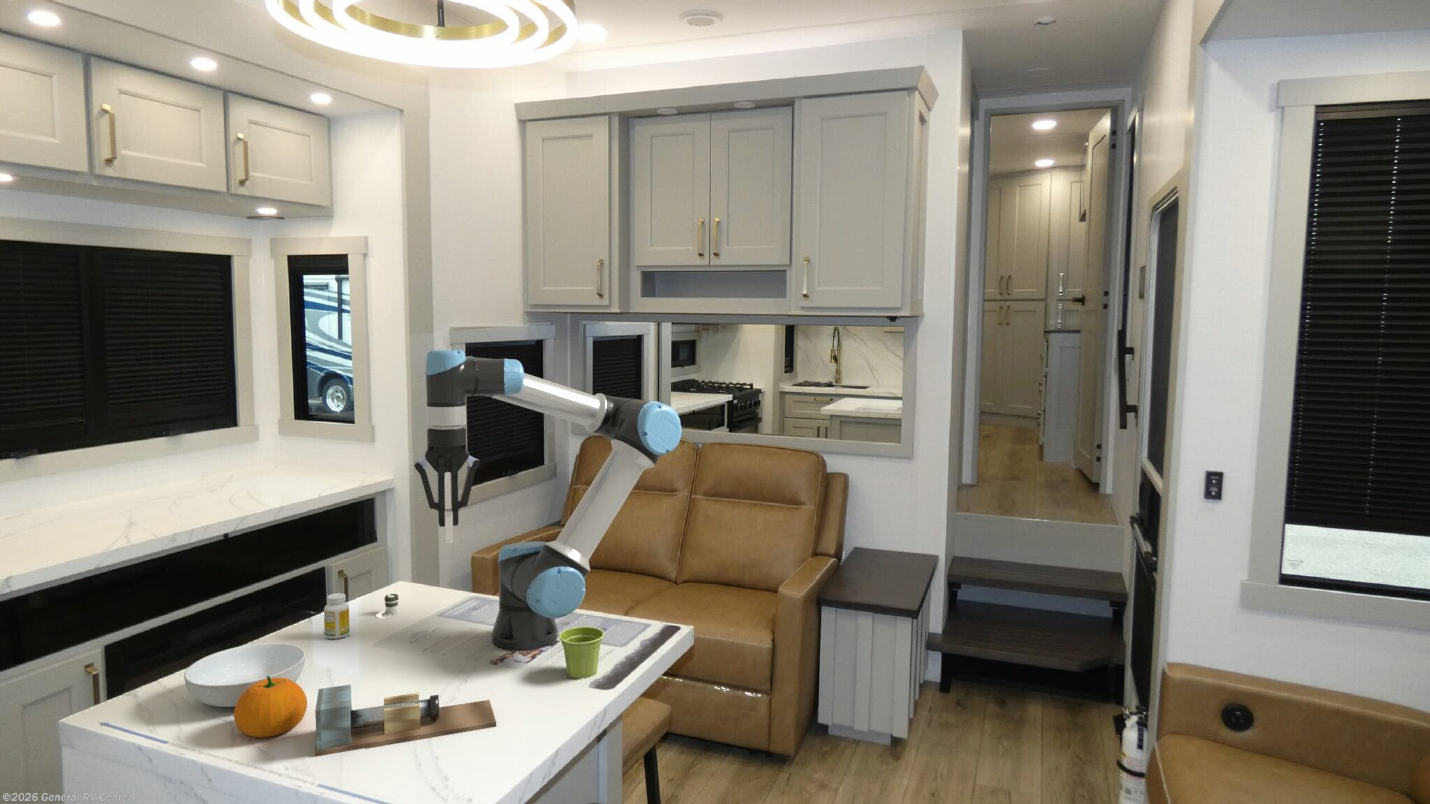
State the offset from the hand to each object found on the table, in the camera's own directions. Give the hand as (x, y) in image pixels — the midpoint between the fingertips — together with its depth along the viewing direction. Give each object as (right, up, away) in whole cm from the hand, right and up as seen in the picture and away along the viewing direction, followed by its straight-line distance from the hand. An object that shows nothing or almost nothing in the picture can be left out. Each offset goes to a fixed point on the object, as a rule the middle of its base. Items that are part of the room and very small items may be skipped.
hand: (448, 541), depth 171 cm
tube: (-5, -30, -20) cm, 36 cm away
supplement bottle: (-35, -27, +27) cm, 52 cm away
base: (-2, -31, -18) cm, 36 cm away
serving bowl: (-38, -30, -5) cm, 49 cm away
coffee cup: (-28, -26, +43) cm, 58 cm away
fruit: (-26, -31, -18) cm, 45 cm away
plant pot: (+26, -29, +7) cm, 40 cm away
